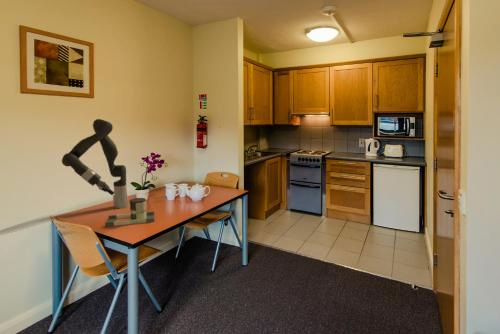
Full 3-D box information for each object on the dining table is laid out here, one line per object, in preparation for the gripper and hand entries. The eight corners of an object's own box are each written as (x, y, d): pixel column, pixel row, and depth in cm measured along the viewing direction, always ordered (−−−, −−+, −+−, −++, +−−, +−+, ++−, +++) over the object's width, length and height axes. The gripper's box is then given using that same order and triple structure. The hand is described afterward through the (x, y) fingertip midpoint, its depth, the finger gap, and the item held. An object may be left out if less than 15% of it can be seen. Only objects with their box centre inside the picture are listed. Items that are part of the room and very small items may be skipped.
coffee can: (128, 222, 199) (127, 201, 197) (133, 217, 209) (132, 198, 207) (144, 221, 199) (143, 201, 197) (148, 217, 209) (147, 197, 207)
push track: (105, 226, 191) (105, 222, 190) (108, 219, 206) (108, 215, 205) (154, 221, 200) (154, 218, 199) (154, 214, 215) (154, 211, 214)
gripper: (93, 174, 186) (116, 192, 191) (97, 171, 198) (118, 187, 204) (84, 183, 185) (107, 200, 190) (89, 179, 197) (110, 195, 203)
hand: (113, 193), depth 197 cm, fingers closed
